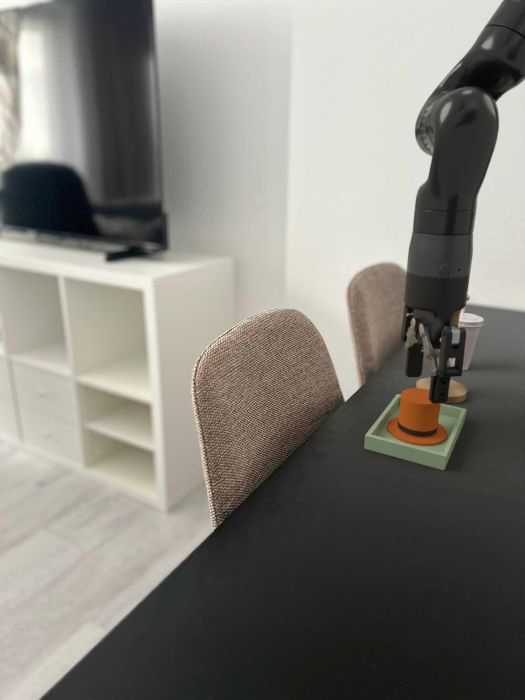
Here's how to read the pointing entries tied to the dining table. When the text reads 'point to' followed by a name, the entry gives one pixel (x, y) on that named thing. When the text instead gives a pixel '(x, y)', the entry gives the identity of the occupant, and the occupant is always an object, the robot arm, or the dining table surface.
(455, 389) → the hat stand
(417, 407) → the hat
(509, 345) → the dining table surface
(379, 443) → the tray
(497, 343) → the dining table surface
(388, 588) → the dining table surface
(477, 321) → the smoothie
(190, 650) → the dining table surface
